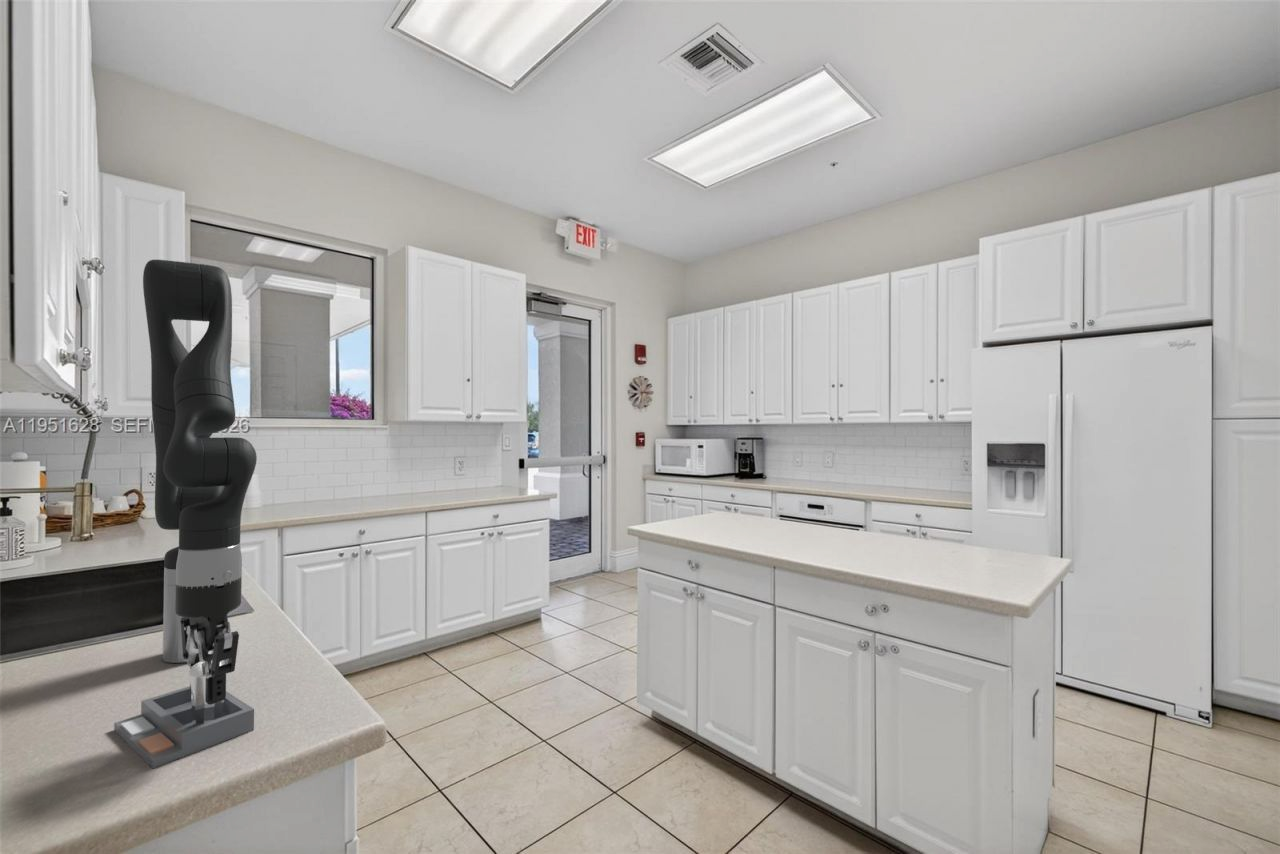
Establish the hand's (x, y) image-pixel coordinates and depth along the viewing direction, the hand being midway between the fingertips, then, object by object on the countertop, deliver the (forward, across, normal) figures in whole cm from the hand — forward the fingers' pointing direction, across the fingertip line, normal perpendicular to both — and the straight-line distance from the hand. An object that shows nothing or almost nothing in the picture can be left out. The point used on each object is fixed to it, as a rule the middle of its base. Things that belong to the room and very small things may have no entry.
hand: (207, 695), depth 81 cm
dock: (+5, -4, -2) cm, 7 cm away
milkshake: (+4, 0, 0) cm, 4 cm away
